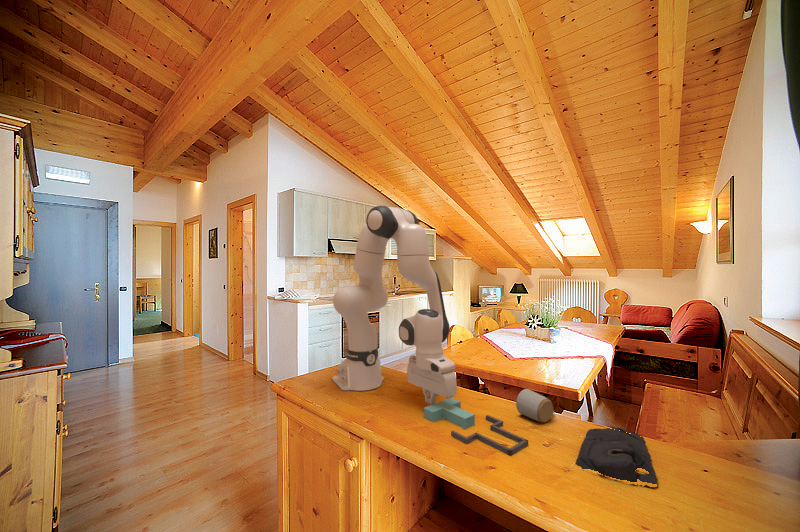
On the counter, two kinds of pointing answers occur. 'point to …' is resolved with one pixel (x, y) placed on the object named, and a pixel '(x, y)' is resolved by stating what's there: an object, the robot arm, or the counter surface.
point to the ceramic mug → (534, 406)
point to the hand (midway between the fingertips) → (430, 403)
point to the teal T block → (450, 413)
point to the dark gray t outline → (490, 442)
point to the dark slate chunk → (616, 455)
